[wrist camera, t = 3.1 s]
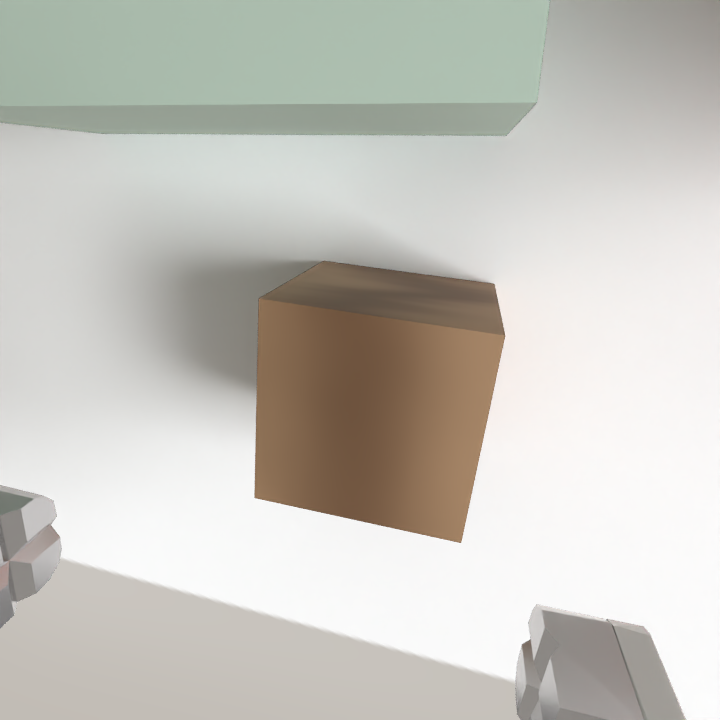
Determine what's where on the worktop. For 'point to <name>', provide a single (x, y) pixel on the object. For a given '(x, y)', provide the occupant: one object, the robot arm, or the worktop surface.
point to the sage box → (271, 66)
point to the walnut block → (375, 394)
